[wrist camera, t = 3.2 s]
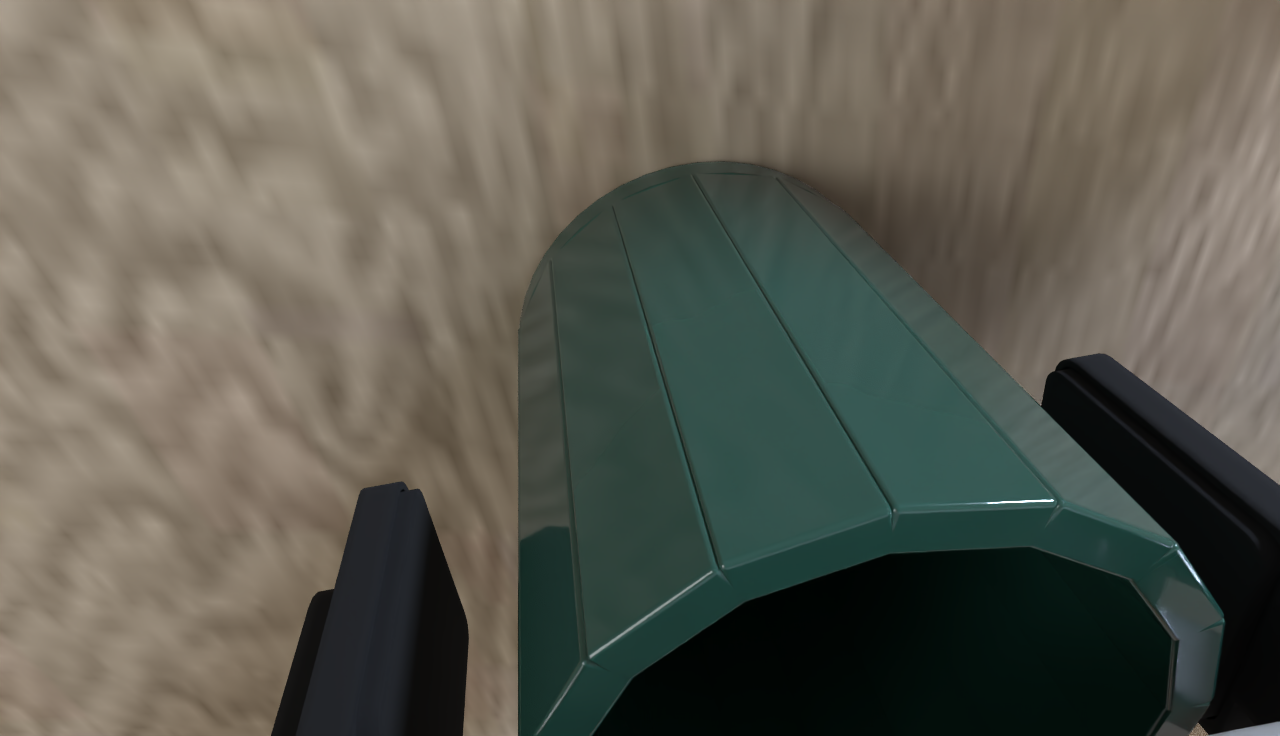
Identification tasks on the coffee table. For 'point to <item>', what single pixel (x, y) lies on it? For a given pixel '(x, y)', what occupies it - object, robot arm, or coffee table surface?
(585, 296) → the pot
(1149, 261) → the coffee table surface
